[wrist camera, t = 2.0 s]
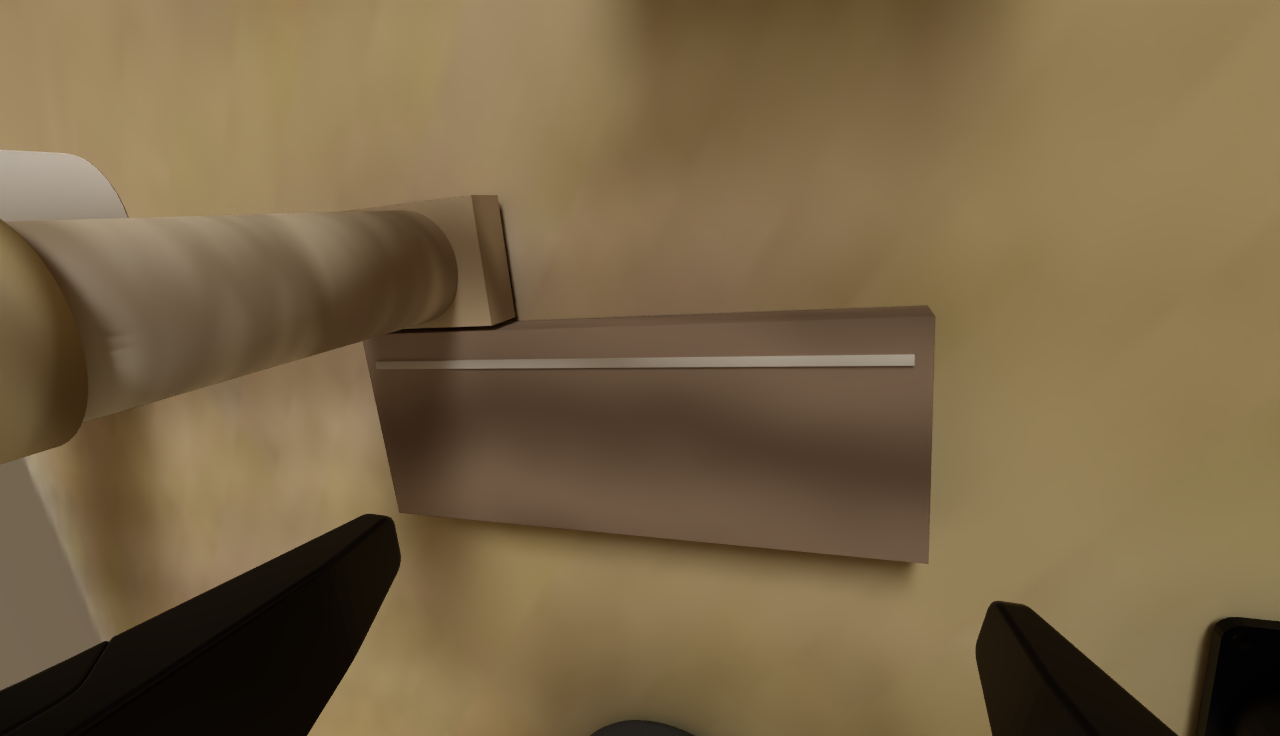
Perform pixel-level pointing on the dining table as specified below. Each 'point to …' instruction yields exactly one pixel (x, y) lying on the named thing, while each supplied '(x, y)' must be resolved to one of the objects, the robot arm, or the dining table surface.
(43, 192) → the cylindrical container
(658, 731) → the smart speaker
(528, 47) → the dining table surface
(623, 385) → the walnut plank
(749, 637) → the dining table surface
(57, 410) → the beige round-topped column
